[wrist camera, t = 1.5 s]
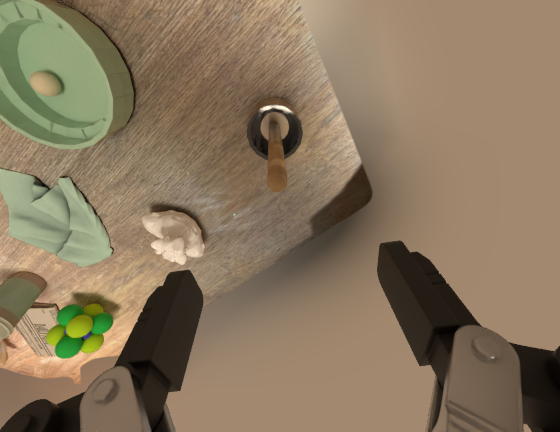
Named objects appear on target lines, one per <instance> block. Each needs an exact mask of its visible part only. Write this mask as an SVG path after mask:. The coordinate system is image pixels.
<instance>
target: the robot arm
mask: <svg viewBox="0 0 560 432" xmlns="http://www.w3.org/2000/svg"><path fill="white" fill-rule="evenodd" d="M377 272H378V278H379V281H380V284H381V286H382V288H383V290H384V292H385V295H386V297H387V299H388V301H389V303H390V305H391V307H392V309H393V311H394V313H395V315H396V318H397V320H398V322H399V324H400V326H401V328H402V330H403V332H404V335H405V337H406V339H407V341H408V343H409V345H410V347H411V349H412V351H413V353H414V355H415V357H416V360H417V362H418V364H419V366H426V365H431V366H432V368H433V370H434V372H435V374H436V376H435V381H434V387H433V392H432V398H431V403H430V409H429V415H428V420H427V426H426V431H425V432H524V430H523V424H527V425H528V426H529V428H530V429H531V431H532V432H560V346H559V347H558V348H557V349H556V350H555V351H549V350H543V349H538V348H532V347H527V346H522V345H517V344H513V343H510V342H507V341H506V340H505V339H504V338H503V337H501V336H500V335H499V334H497V333H495V332H493V331H491V330H489V329H487V328H484V327H482V326H481V325H480V324H479V323H478V322H477V321H476V320H475V318H474V317H473V316H472V314H471V313H470V312H469V310H468V309H467V308H466V306H465V305H464V304H463V303H462V301H461V300H460V299H459V298H458V296H457V295H456V294H455V292H454V291H453V290H452V288H451V287H450V286H449V284H447V283H446V281H445V279H444V278H443V277H442V275H441V274H439V271H438V270H437V269H436V268H435V266H434V265H433V264H432V262H431V261H430V260H429V259H427V258H426V257H424V256H423V255H421V254H420V253H418V252H411V253H410V252H409V250H408V249H407V248H406V246H405V245H404V243H403V242H402V241H393V242H386V243H381V244H380V246H379V257H378V267H377ZM202 307H203V294H202V291H201V289H200V288H199V286H198V284H197V282H196V280H195V278H194V276H193V275H192V273H191V271H190V270H183V271H176V272H170V273H169V274H168V276H167V278H166V280H165V282H164V284H163V286H159V287H158V288H157V289H156V290H155V291H154V292H153V293H152V294H151V295H150V297H149V298H148V300H147V302H146V304H145V306H144V308H143V312H141V314H140V316H139V318H138V322H136V324H135V326H134V328H133V330H132V332H131V334H130V336H129V338H128V340H127V342H126V344H125V346H124V348H123V350H122V352H121V354H120V356H119V358H118V360H117V362H116V364H115V366H114V367H113V368H111V369H109V370H107V371H105V372H103V373H102V374H101V375H99V376H98V377H97V378H96V379H95V380H94V381H93V382H92V384H91V385H90V386H89V387H88V389H87V390H86V391H85V392H83V393H81V394H79V395H77V396H74V397H72V398H70V399H68V400H66V401H63V402H61V403H59V404H57V405H56V404H54V403H52V402H50V401H48V400H46V399H40V400H36V401H34V402H31V403H30V404H28V405H26V406H25V407H23V408H22V409H20V410H19V411H18V412H17V413H15V414H14V415H13V416H12V417H11V418H10V419H9V420H8V421H7V422H6V423H5V425H4V426H3V427H2V428H1V430H0V432H176V431H175V428H174V425H173V422H172V419H171V416H170V412H169V409H168V407H167V404H166V403H165V402H166V399H167V395H168V392H174V391H180V390H181V386H182V382H183V379H184V375H185V371H186V367H187V363H188V360H189V356H190V352H191V348H192V345H193V341H194V337H195V333H196V330H197V326H198V322H199V318H200V314H201V311H202Z"/></svg>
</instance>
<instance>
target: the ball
mask: <svg viewBox="0 0 560 432" xmlns="http://www.w3.org/2000/svg"><path fill="white" fill-rule="evenodd" d="M30 84H31V86H32V87H33V89H34V90H35V91H37V92H38V93H40V94H42V95H44V96H49V97H52V96H56V95H58V94H59V93H60V91H61V85H60V83H59V81H58V80H57V79H56V78H55V77H54V76H53V75H51V74H50V73H47V72H44V71H36V72H34V73H32V74H31V76H30Z"/></svg>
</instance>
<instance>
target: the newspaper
mask: <svg viewBox="0 0 560 432" xmlns="http://www.w3.org/2000/svg"><path fill="white" fill-rule="evenodd" d="M58 313H59V311H58V309H57V307H56V305H55V304H34V303H33V304H32V305H31V307H30V308H29V309H28V311H27V312H26V313H25V315H24V316H23V317H22V319H21V320H20V321H19V323H18V324H17V325H16V326H15V329H16V330H17V331H18V332H19V333H20V334H21V335H22V336H23V337H24V339H25V340H26V341H27V343H28V344H29V345H30V347H31V348H32V350H33V351H34V352H35V353H36V354H37V355H38V356H57V355H56V353H55V347H56V346H52V345H50V344H48V343H47V341H46V335H47V333H48V331H49V330H50V329H51V328H52V327H54V326H55V325H58V324H59V323H58V322H57V315H58ZM78 353H79V352H78ZM78 353H77V354H78Z"/></svg>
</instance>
